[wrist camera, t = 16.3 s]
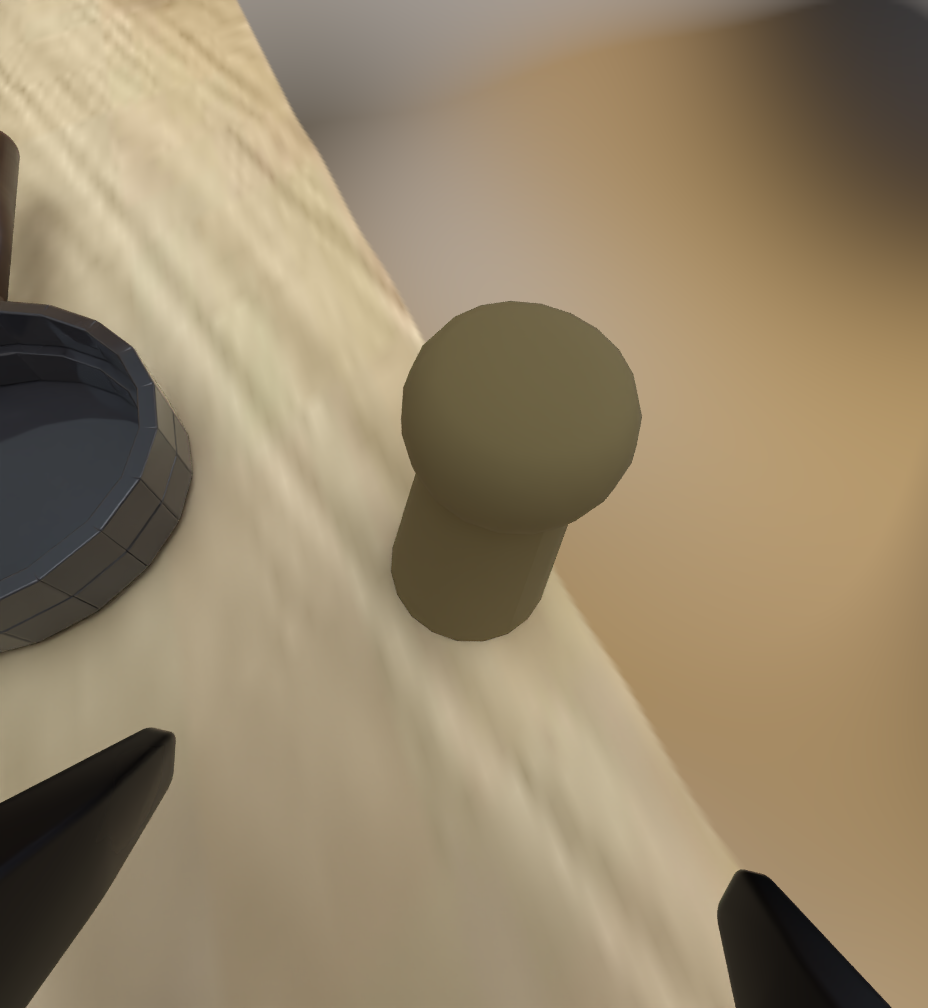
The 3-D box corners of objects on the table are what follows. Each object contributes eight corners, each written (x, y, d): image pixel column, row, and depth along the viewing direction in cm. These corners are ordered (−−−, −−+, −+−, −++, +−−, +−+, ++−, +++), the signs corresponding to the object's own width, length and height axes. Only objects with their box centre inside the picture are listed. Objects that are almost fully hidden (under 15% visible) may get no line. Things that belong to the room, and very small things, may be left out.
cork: (384, 500, 20) (365, 257, 10) (528, 487, 21) (635, 255, 11) (399, 652, 18) (393, 519, 8) (562, 630, 19) (740, 486, 9)
